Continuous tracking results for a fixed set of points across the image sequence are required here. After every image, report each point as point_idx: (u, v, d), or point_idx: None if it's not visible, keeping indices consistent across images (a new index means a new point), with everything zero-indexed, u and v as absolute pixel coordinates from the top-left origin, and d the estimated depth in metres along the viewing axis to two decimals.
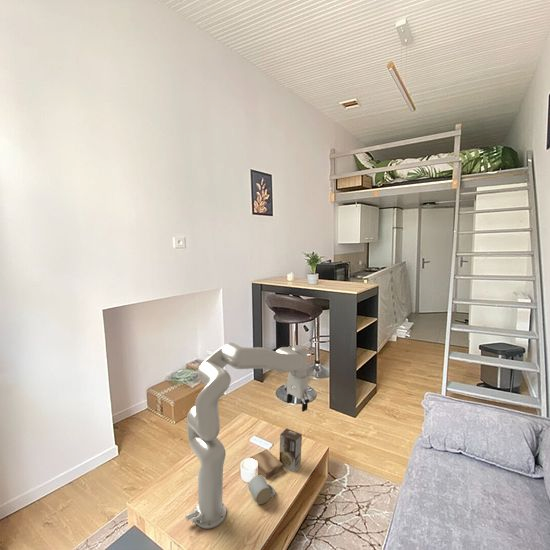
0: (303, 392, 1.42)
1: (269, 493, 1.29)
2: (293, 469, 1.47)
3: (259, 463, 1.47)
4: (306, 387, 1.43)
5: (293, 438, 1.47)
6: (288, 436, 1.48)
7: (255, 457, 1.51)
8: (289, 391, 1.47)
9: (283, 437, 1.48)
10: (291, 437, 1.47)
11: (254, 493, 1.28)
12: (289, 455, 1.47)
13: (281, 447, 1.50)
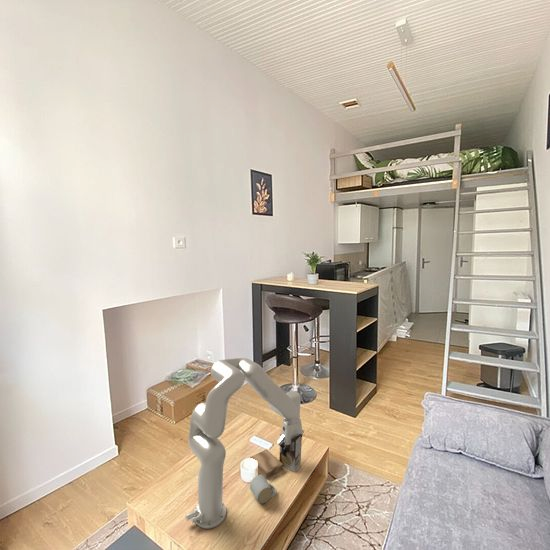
0: None
1: (270, 492, 1.29)
2: (293, 469, 1.47)
3: (259, 463, 1.47)
4: None
5: (293, 438, 1.47)
6: None
7: (255, 457, 1.51)
8: (290, 441, 1.46)
9: None
10: None
11: (255, 492, 1.28)
12: (289, 455, 1.47)
13: None
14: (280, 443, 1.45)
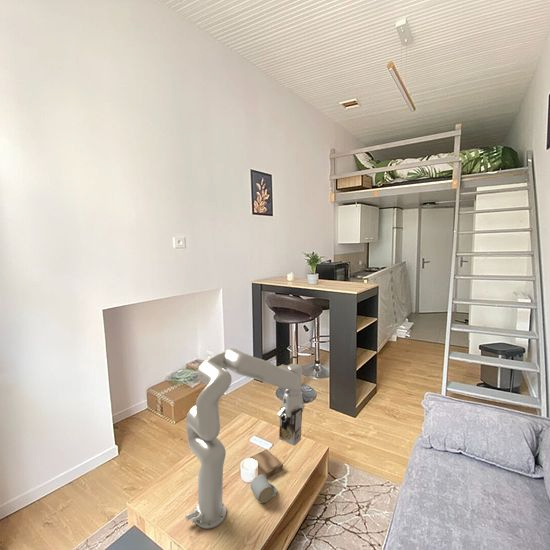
0: None
1: (271, 492, 1.29)
2: (293, 443, 1.45)
3: (259, 463, 1.47)
4: None
5: None
6: None
7: (255, 457, 1.51)
8: (291, 414, 1.44)
9: None
10: None
11: (256, 492, 1.28)
12: (289, 428, 1.46)
13: (281, 421, 1.48)
14: (281, 415, 1.43)
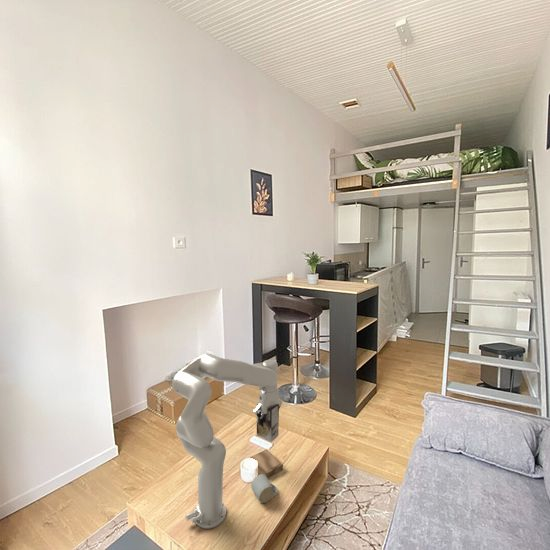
0: None
1: (272, 492, 1.29)
2: (270, 439, 1.44)
3: (259, 463, 1.47)
4: None
5: (269, 408, 1.43)
6: None
7: (255, 457, 1.51)
8: (267, 411, 1.43)
9: None
10: None
11: (257, 492, 1.28)
12: (265, 425, 1.44)
13: None
14: (256, 412, 1.42)
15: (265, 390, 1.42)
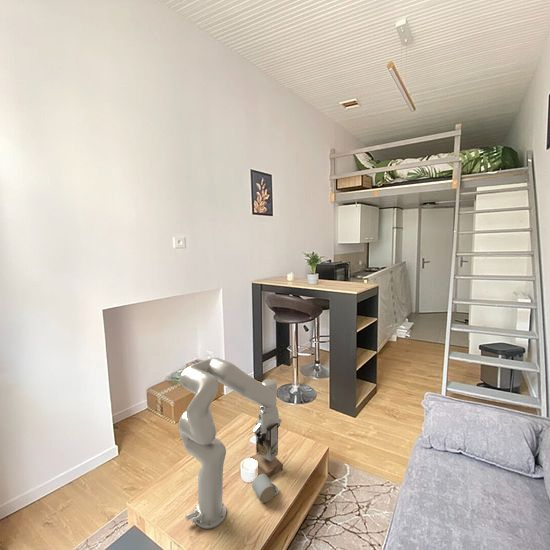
0: None
1: (273, 492, 1.30)
2: (269, 458, 1.45)
3: (259, 463, 1.47)
4: None
5: None
6: None
7: (255, 457, 1.51)
8: (266, 430, 1.44)
9: None
10: None
11: (258, 492, 1.29)
12: (265, 444, 1.45)
13: (257, 436, 1.48)
14: (256, 432, 1.43)
15: (264, 410, 1.43)
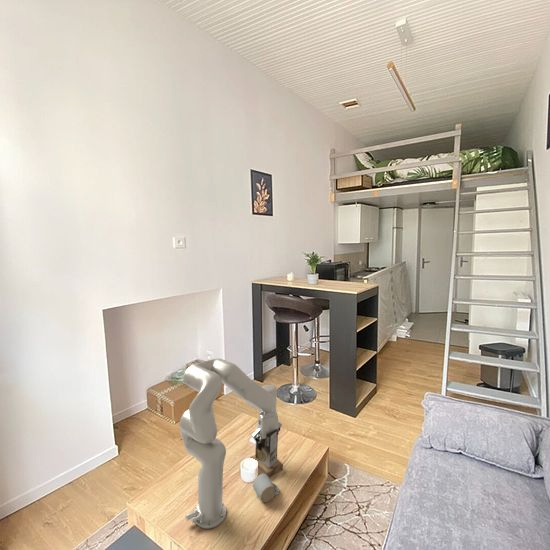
0: None
1: (273, 491, 1.30)
2: (268, 465, 1.45)
3: (259, 463, 1.47)
4: None
5: None
6: None
7: None
8: (266, 435, 1.44)
9: None
10: None
11: (259, 491, 1.29)
12: (264, 450, 1.45)
13: None
14: (255, 436, 1.43)
15: (264, 415, 1.44)
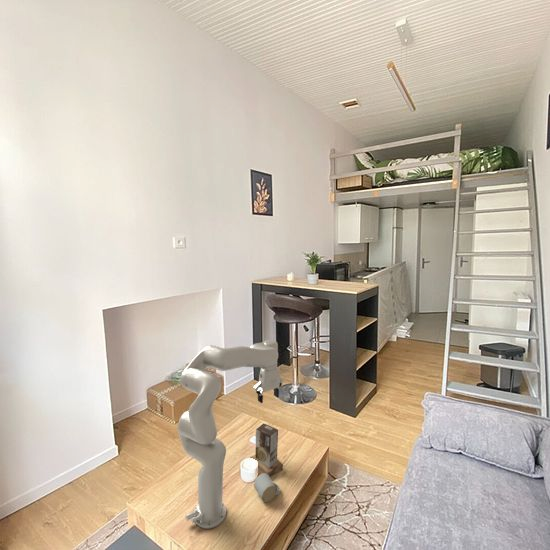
0: None
1: (274, 491, 1.30)
2: (268, 465, 1.45)
3: (259, 463, 1.47)
4: None
5: (268, 433, 1.45)
6: (264, 431, 1.46)
7: None
8: (267, 388, 1.48)
9: (259, 432, 1.47)
10: (266, 432, 1.45)
11: (260, 491, 1.29)
12: (264, 450, 1.46)
13: (257, 442, 1.48)
14: (256, 389, 1.46)
15: (265, 368, 1.47)
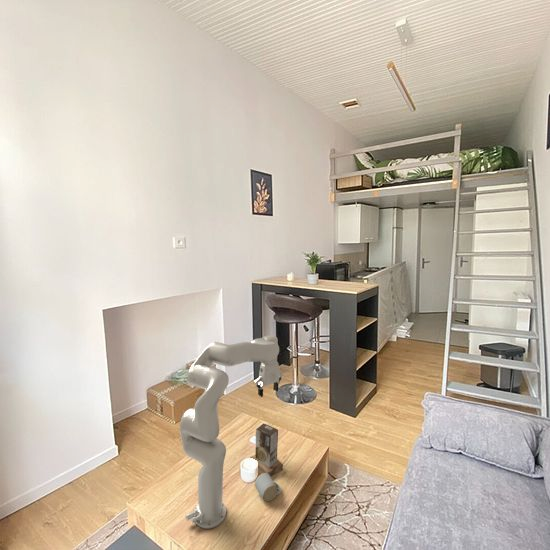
0: None
1: (275, 491, 1.30)
2: (268, 464, 1.45)
3: (259, 463, 1.47)
4: None
5: (268, 433, 1.45)
6: (264, 431, 1.46)
7: None
8: (268, 382, 1.52)
9: (259, 432, 1.47)
10: (266, 432, 1.45)
11: (261, 490, 1.29)
12: (264, 450, 1.46)
13: (257, 442, 1.48)
14: (257, 382, 1.50)
15: (266, 363, 1.51)
